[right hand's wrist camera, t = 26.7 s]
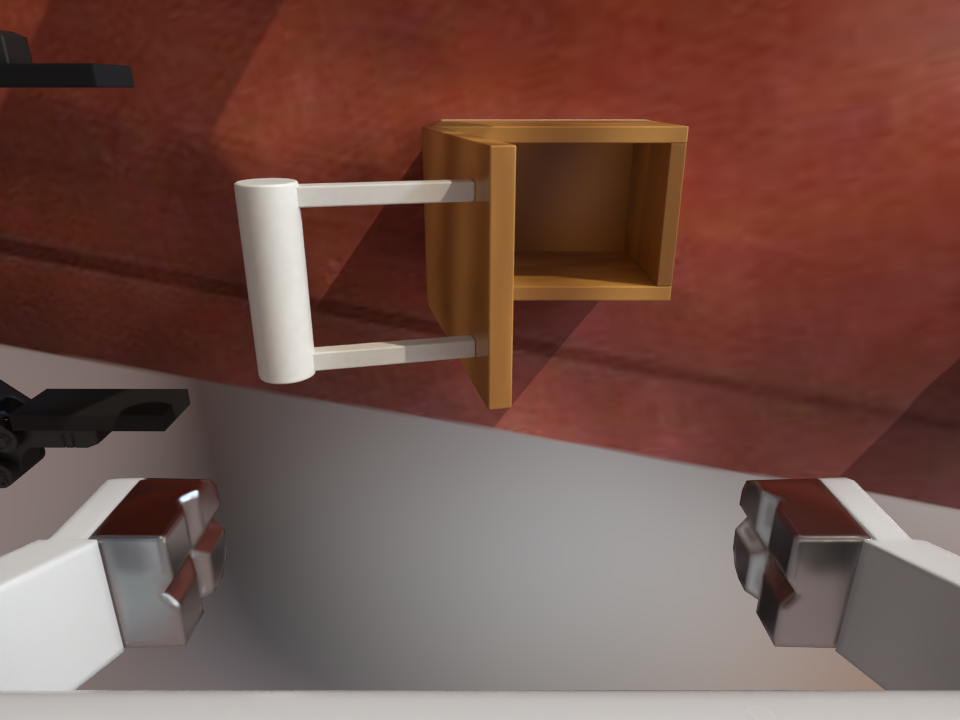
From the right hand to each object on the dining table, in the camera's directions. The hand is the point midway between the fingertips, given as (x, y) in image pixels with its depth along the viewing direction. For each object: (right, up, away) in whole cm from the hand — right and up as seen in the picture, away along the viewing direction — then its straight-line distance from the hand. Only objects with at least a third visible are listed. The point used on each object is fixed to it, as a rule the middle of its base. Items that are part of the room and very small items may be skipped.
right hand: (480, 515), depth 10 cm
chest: (+4, +14, +35) cm, 38 cm away
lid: (0, +7, +19) cm, 20 cm away
